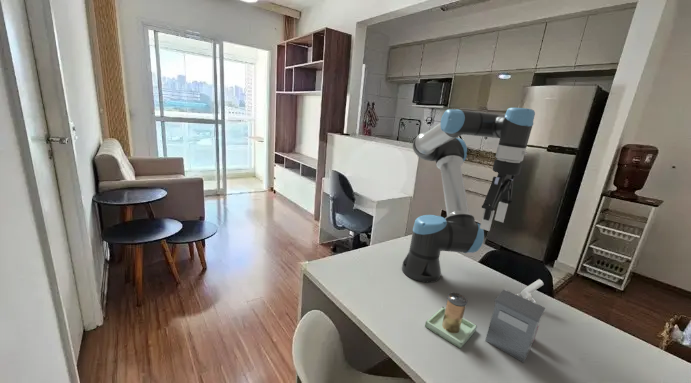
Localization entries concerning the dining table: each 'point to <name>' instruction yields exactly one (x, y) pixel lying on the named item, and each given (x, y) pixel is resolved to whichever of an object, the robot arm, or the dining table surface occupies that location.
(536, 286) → the hook
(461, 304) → the amber cylinder
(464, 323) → the tray
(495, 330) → the box
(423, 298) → the dining table surface
